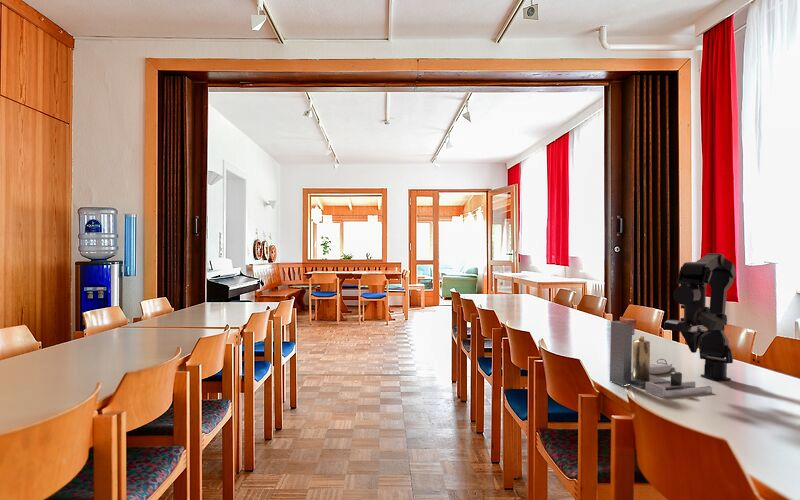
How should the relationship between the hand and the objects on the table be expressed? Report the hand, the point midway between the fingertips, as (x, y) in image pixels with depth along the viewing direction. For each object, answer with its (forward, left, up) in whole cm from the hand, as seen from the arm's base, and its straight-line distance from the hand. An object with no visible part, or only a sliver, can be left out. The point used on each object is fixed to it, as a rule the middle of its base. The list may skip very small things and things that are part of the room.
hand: (693, 352), depth 148 cm
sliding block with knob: (+9, 0, -12) cm, 15 cm away
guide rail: (+5, 0, -12) cm, 13 cm away
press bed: (+10, -12, -12) cm, 20 cm away
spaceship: (-8, -22, -12) cm, 26 cm away
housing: (+8, -12, -10) cm, 18 cm away
